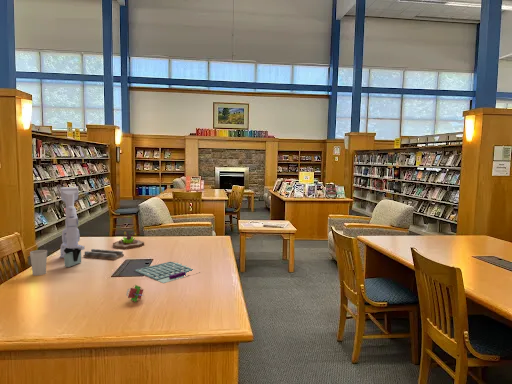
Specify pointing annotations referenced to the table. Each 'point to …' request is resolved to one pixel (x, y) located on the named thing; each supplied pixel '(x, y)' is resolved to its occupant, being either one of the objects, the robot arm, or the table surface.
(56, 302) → the table surface
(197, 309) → the table surface
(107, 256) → the door track
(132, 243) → the plant
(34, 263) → the cup
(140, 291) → the geometric puzzle
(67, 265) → the door panel
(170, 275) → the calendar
